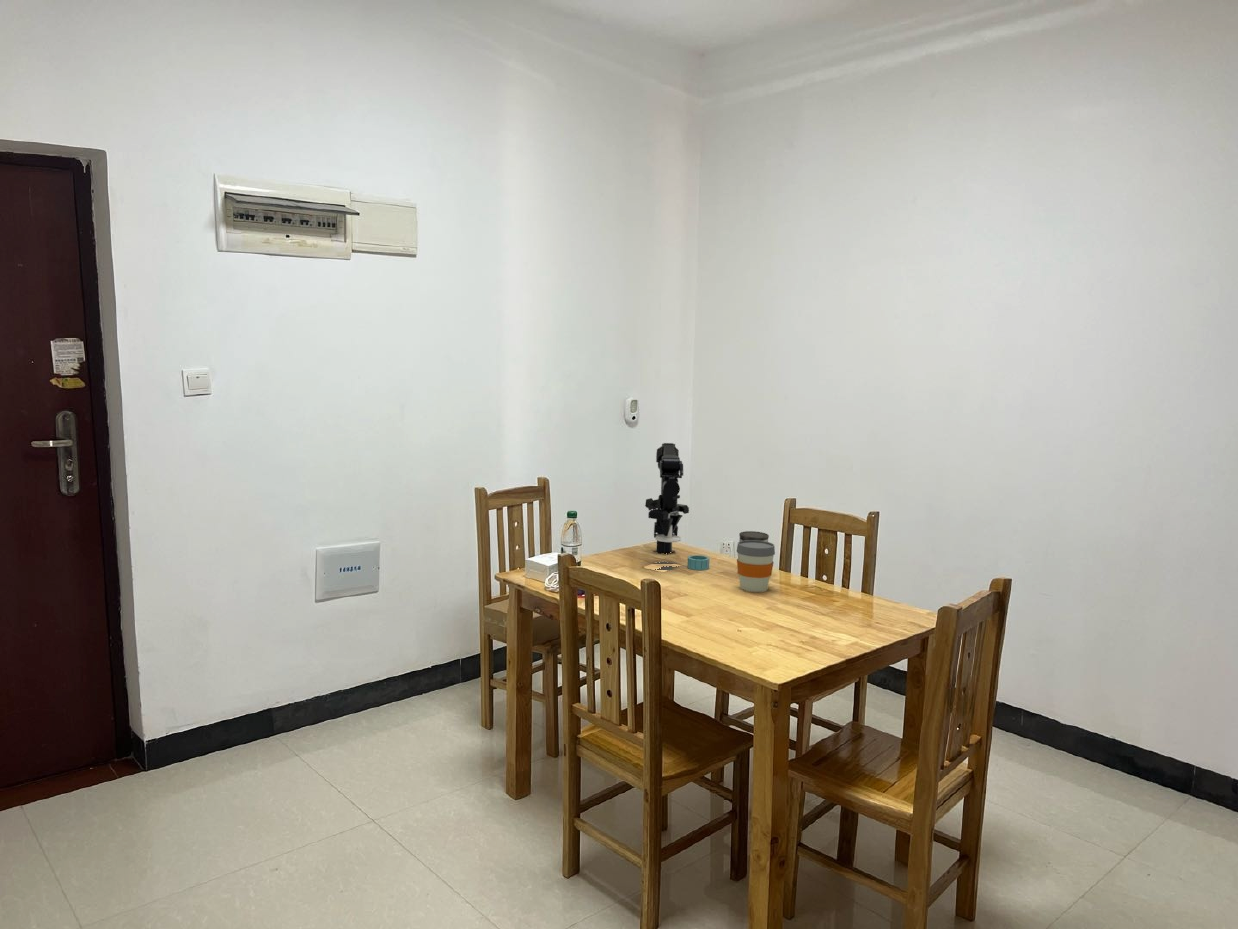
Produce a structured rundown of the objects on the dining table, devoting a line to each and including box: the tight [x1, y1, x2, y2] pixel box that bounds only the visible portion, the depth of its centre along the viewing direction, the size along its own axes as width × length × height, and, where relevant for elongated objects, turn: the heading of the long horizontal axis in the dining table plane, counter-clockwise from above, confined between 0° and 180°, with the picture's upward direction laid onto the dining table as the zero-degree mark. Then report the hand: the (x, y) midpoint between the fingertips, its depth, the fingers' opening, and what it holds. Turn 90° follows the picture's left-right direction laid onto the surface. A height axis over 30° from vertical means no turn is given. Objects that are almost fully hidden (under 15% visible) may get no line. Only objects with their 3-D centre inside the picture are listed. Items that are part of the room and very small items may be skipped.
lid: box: [654, 525, 681, 543], centre depth 308 cm, size 9×9×5 cm
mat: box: [651, 560, 679, 571], centre depth 310 cm, size 14×10×1 cm
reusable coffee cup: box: [736, 540, 776, 593], centre depth 285 cm, size 13×13×15 cm
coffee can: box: [738, 530, 770, 542], centre depth 305 cm, size 10×10×14 cm
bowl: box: [686, 554, 710, 571], centre depth 309 cm, size 8×8×4 cm
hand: (668, 535), depth 308 cm, fingers closed on lid, 3 cm apart
